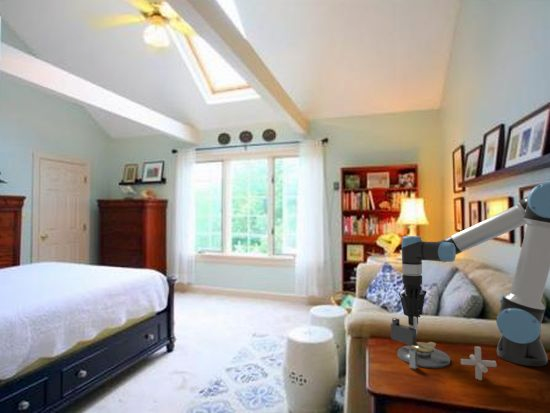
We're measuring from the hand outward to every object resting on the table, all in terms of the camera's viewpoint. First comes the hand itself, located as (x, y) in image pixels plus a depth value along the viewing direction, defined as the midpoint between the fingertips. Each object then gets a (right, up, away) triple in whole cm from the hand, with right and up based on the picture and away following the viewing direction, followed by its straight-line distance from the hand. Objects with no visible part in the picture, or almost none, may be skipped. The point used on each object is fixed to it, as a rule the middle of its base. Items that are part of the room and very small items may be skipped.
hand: (413, 332), depth 135 cm
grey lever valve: (-3, -2, -6) cm, 7 cm away
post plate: (-2, -5, -10) cm, 12 cm away
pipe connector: (+10, -5, -27) cm, 29 cm away
